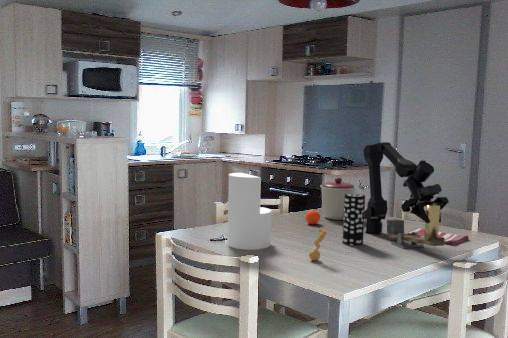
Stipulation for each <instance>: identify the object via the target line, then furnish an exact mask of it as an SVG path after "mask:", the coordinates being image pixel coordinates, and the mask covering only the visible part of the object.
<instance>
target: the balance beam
mask: <svg viewBox="0 0 508 338" xmlns="http://www.w3.org/2000/svg"><path fill="white" fill-rule="evenodd" d="M386 233H387V238H392V239H397V240H398V233H402V234H404V233H405V220H402V219H386ZM404 240H405V241H410V242H415V243H420V244H424V246H425V245H426V246H431V247H442V246H445V244H444V237H437V238H432V240H427V239H424V237H418V236H413V235H408V234H404V236H403V241H404Z"/></svg>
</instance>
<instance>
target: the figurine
mask: <svg viewBox="0 0 508 338" xmlns="http://www.w3.org/2000/svg"><path fill="white" fill-rule="evenodd" d="M318 233H319V234H318V237H317V238H316V240H315V241H314V242H313V245H315V247H316V248H314V249H312V250H311V251H309V254H308V257H309V259H310V260H311V261H313V262H316V261H318V260H320V258H321V252H320V251H319V249H320V247H321V245H320V243H322V241H323V240H324V238H325V237H326V235H327V231H326V230H324V229H322V228H318Z"/></svg>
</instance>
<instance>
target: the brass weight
mask: <svg viewBox="0 0 508 338" xmlns="http://www.w3.org/2000/svg"><path fill="white" fill-rule="evenodd" d="M425 212H426V214H427V216H428V218H429V221H430V222H429V223H426V222H425V221H424V229H425V232H424V239H427V240H432V238H437V237H438V232H439V227H440V223H439V215H440V214H441V210H440V205H436V204H426V206H425Z"/></svg>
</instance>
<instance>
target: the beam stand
mask: <svg viewBox="0 0 508 338" xmlns="http://www.w3.org/2000/svg"><path fill="white" fill-rule="evenodd" d="M412 235H413V236H418V233H416V232H412ZM403 236H404V234H402V233H398V239H397V240H395V241H390V244H391V245H393V246H395V247H398V248H400V249H403V250H405V249H417V248H424V247H425V244H420V243H415V242H410V241H405V240H403Z"/></svg>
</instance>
